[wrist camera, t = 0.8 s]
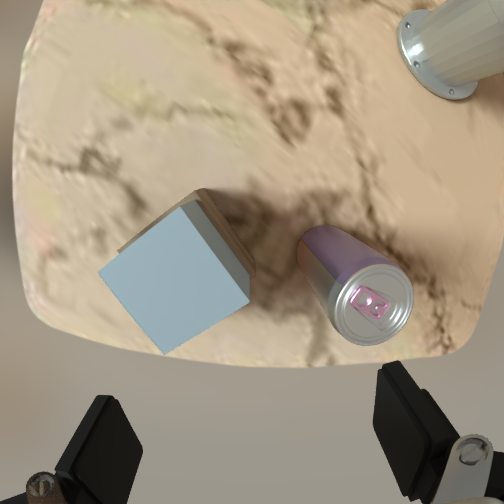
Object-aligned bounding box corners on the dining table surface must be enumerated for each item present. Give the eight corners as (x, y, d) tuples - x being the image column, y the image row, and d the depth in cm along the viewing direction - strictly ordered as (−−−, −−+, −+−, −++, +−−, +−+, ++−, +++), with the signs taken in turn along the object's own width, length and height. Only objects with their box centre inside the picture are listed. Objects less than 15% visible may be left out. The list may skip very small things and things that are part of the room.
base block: (204, 187, 31) (194, 190, 25) (254, 258, 33) (255, 276, 27) (138, 237, 32) (117, 250, 27) (187, 302, 34) (176, 327, 28)
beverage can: (315, 212, 32) (369, 243, 17) (359, 242, 33) (431, 289, 18) (284, 261, 33) (313, 326, 18) (329, 287, 34) (380, 360, 19)
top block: (194, 199, 26) (179, 206, 20) (249, 275, 27) (250, 302, 21) (125, 252, 27) (97, 272, 21) (178, 321, 28) (164, 354, 22)
